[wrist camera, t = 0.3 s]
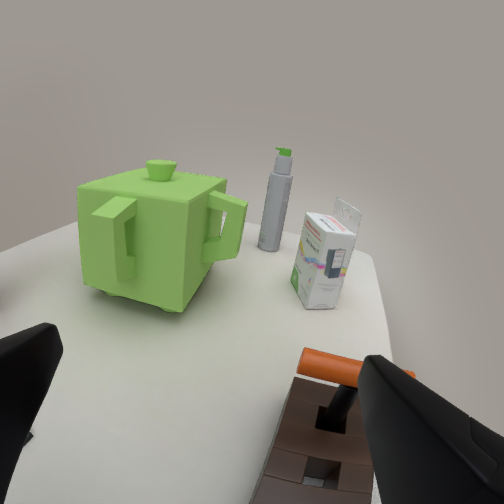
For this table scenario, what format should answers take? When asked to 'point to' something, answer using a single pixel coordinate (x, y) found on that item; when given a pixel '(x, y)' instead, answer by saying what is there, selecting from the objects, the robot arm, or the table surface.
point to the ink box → (324, 255)
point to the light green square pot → (156, 232)
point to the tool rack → (315, 453)
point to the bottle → (276, 202)
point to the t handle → (336, 372)
